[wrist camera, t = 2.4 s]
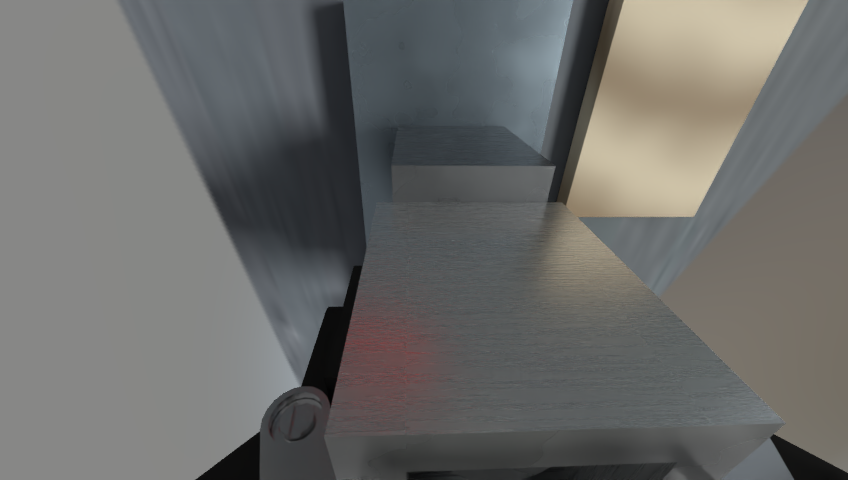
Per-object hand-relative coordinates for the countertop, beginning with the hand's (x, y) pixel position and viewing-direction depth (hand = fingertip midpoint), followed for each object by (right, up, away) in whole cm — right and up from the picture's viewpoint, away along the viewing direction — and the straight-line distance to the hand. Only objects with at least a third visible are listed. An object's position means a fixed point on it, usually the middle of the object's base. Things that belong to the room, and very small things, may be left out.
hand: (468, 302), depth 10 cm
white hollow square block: (0, +1, +1) cm, 1 cm away
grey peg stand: (0, +5, +8) cm, 9 cm away
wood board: (+11, +10, +5) cm, 16 cm away
